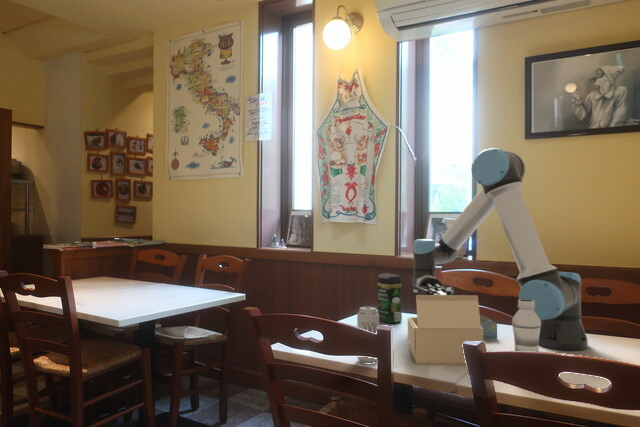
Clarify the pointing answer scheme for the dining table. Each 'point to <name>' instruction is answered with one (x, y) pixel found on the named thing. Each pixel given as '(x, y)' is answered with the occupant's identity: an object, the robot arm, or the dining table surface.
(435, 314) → the long flap
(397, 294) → the coffee jar
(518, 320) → the plastic bottle
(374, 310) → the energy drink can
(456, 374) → the dining table surface
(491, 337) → the beverage carton
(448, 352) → the kraft box
